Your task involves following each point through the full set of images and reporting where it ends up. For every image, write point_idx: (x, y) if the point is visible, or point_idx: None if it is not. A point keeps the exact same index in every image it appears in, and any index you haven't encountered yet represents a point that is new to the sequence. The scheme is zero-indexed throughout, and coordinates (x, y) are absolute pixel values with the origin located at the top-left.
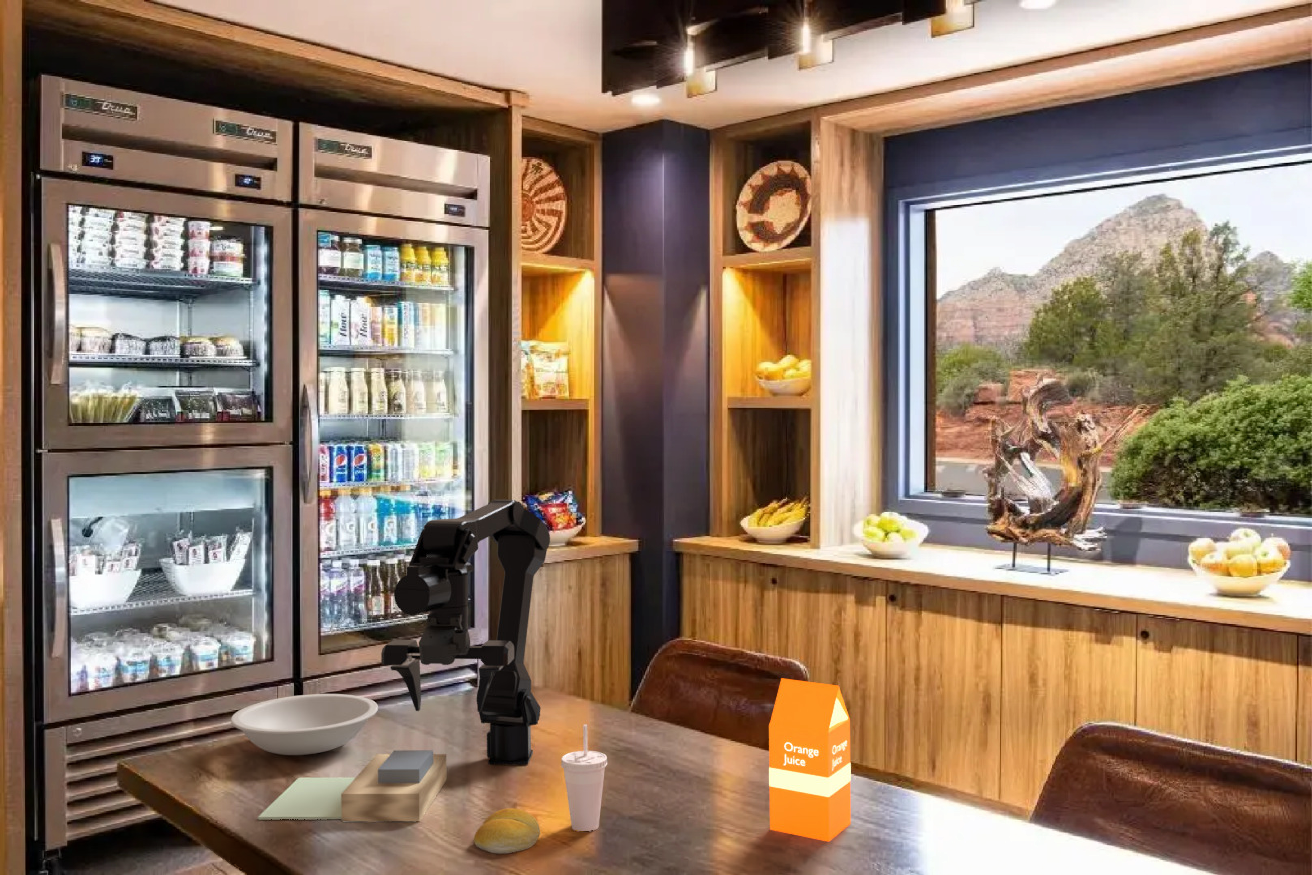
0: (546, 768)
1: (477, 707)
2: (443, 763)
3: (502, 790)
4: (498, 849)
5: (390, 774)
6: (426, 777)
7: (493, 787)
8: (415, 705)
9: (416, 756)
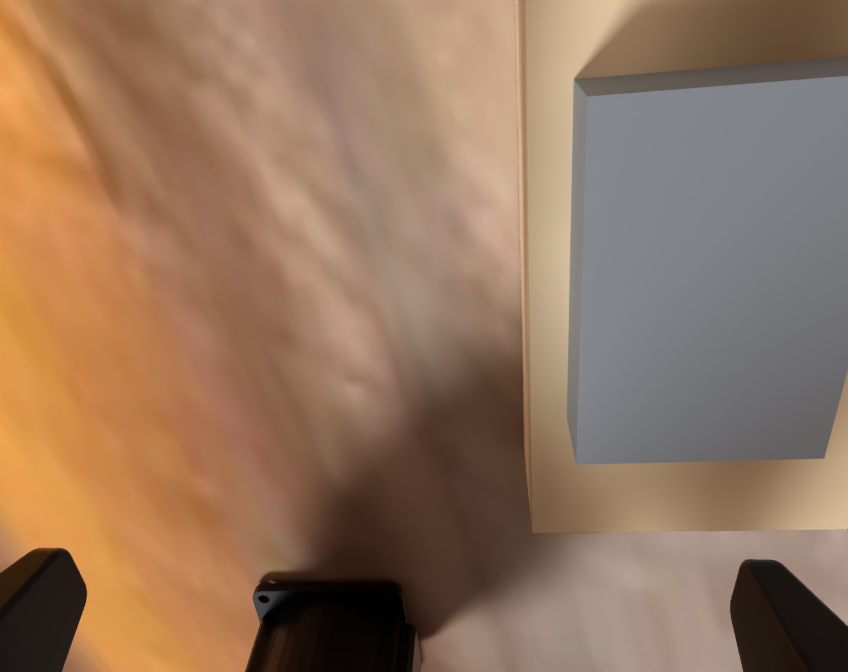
0: (175, 556)
1: (33, 579)
2: (529, 465)
3: (243, 344)
4: None
5: (802, 72)
6: (551, 190)
7: (295, 376)
8: (808, 609)
9: (659, 361)
